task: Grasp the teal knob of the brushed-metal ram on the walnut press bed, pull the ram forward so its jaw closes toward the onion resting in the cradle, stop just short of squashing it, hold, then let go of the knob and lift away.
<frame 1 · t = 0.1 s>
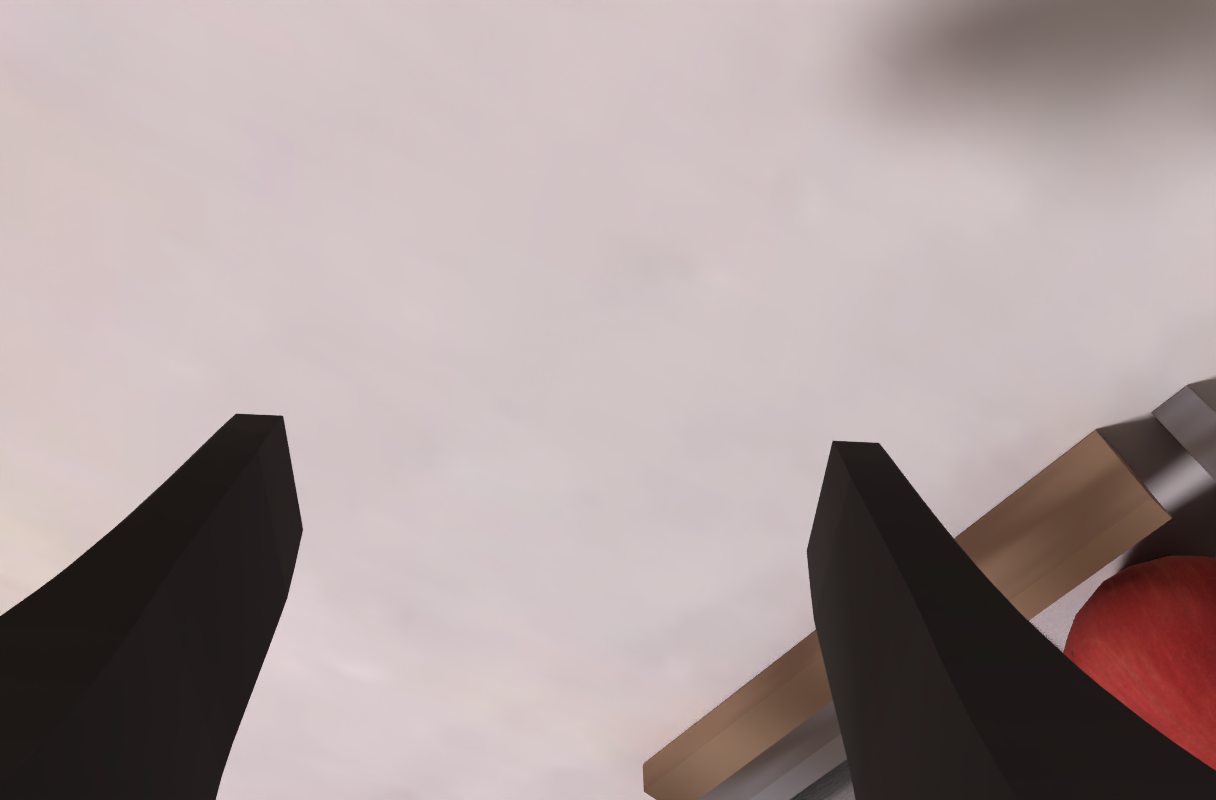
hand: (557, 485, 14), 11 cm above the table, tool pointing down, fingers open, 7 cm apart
press bed: (991, 680, 30), on the table
onion: (1125, 578, 28), resting in press bed
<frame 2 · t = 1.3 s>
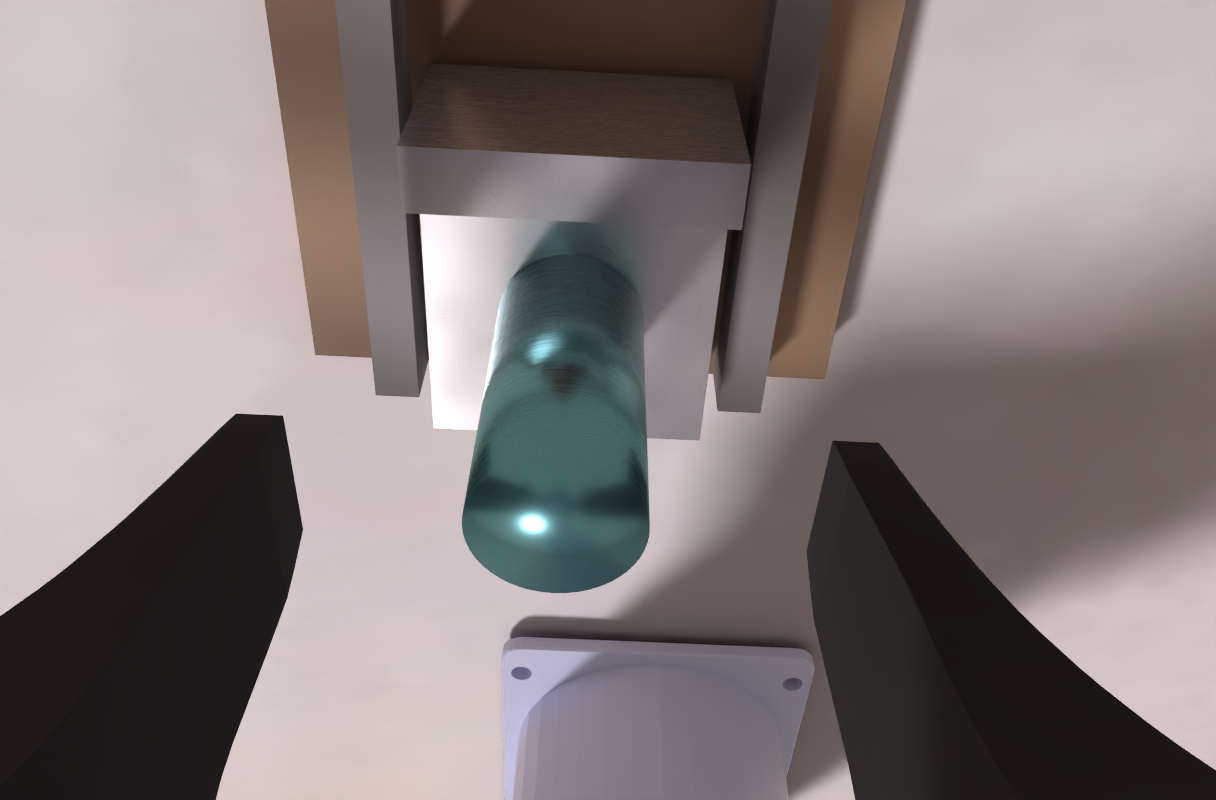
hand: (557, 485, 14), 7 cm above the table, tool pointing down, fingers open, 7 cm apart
ram: (567, 346, 16), point 5 cm above the table, slide at 0.0 cm
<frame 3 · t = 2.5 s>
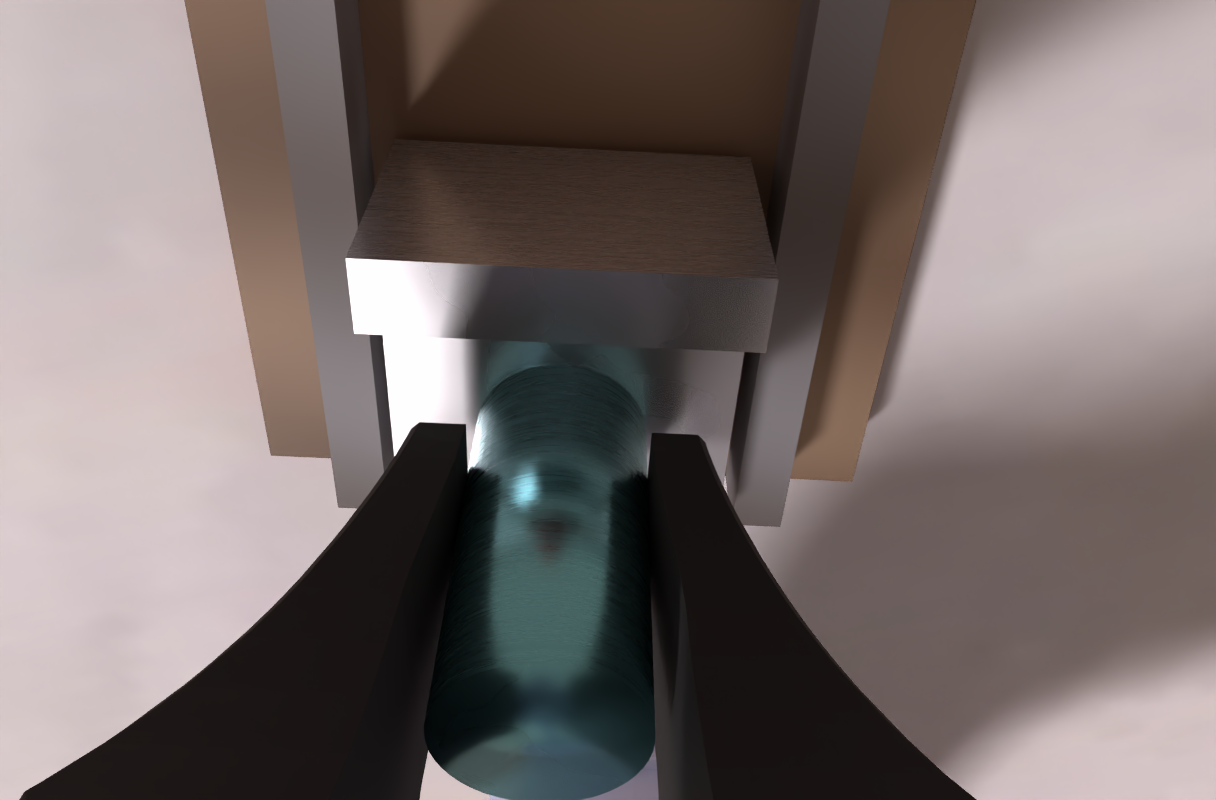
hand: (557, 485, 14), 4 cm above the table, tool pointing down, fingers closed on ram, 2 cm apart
ram: (556, 482, 13), point 5 cm above the table, slide at 0.0 cm, touching gripper
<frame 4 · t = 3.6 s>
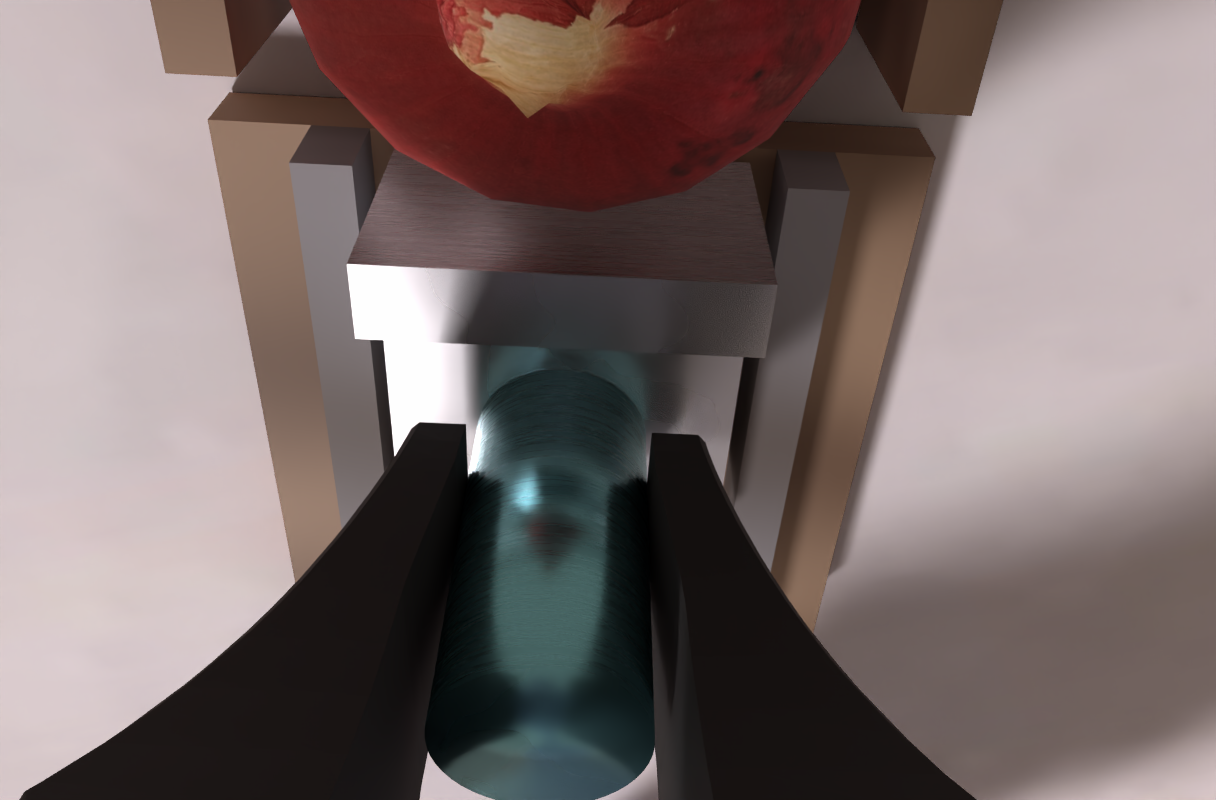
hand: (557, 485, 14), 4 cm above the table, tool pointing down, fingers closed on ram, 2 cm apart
press bed: (574, 174, 16), on the table
ram: (556, 486, 13), point 5 cm above the table, slide at 3.9 cm, touching gripper
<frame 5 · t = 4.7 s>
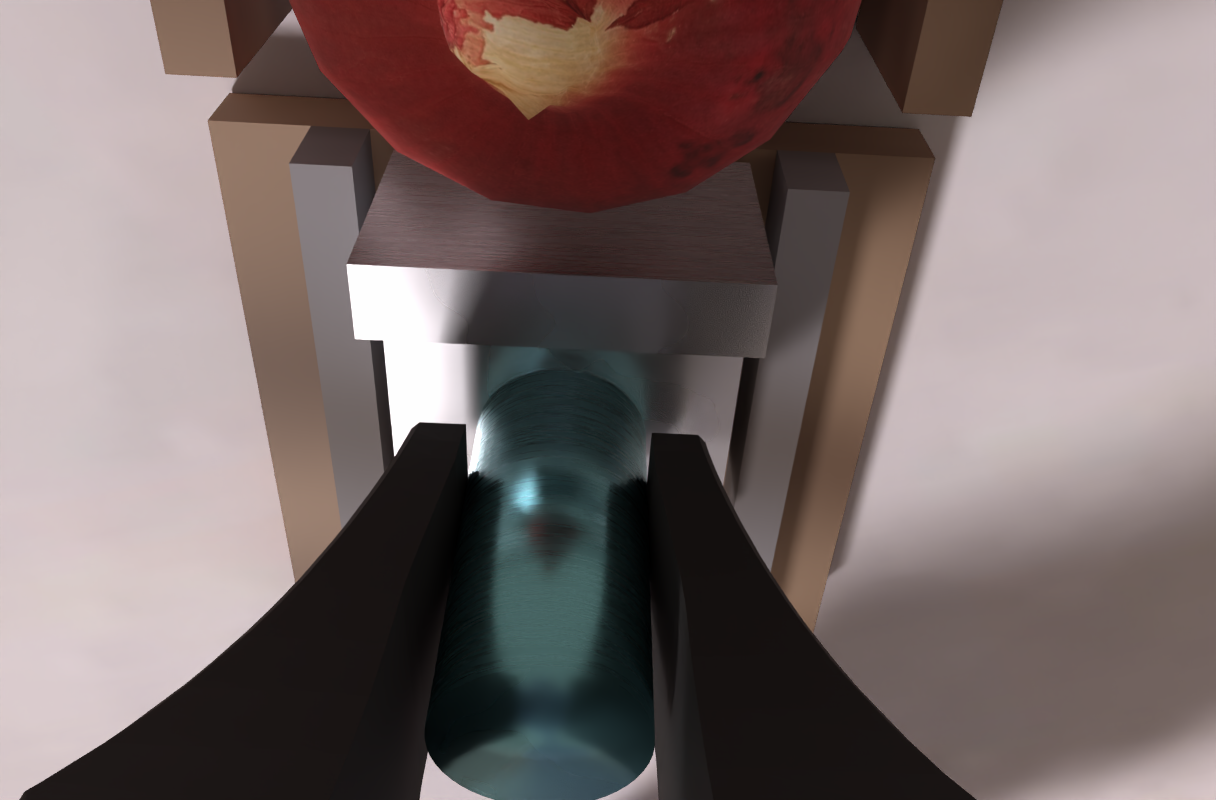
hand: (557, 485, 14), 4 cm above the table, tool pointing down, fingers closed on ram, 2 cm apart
press bed: (574, 174, 16), on the table
ram: (556, 487, 13), point 5 cm above the table, slide at 3.9 cm, touching gripper
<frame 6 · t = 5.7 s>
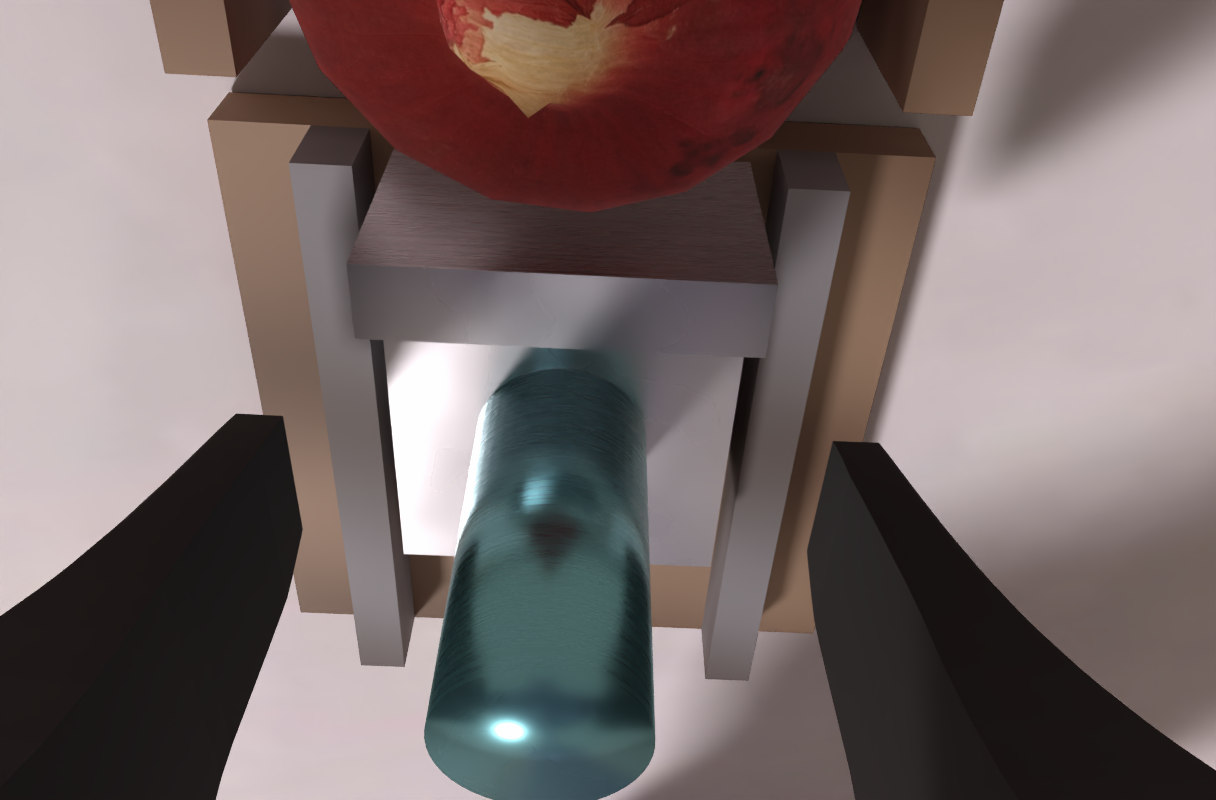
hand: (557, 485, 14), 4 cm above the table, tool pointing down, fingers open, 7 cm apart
press bed: (574, 174, 16), on the table
ram: (556, 487, 13), point 5 cm above the table, slide at 3.9 cm
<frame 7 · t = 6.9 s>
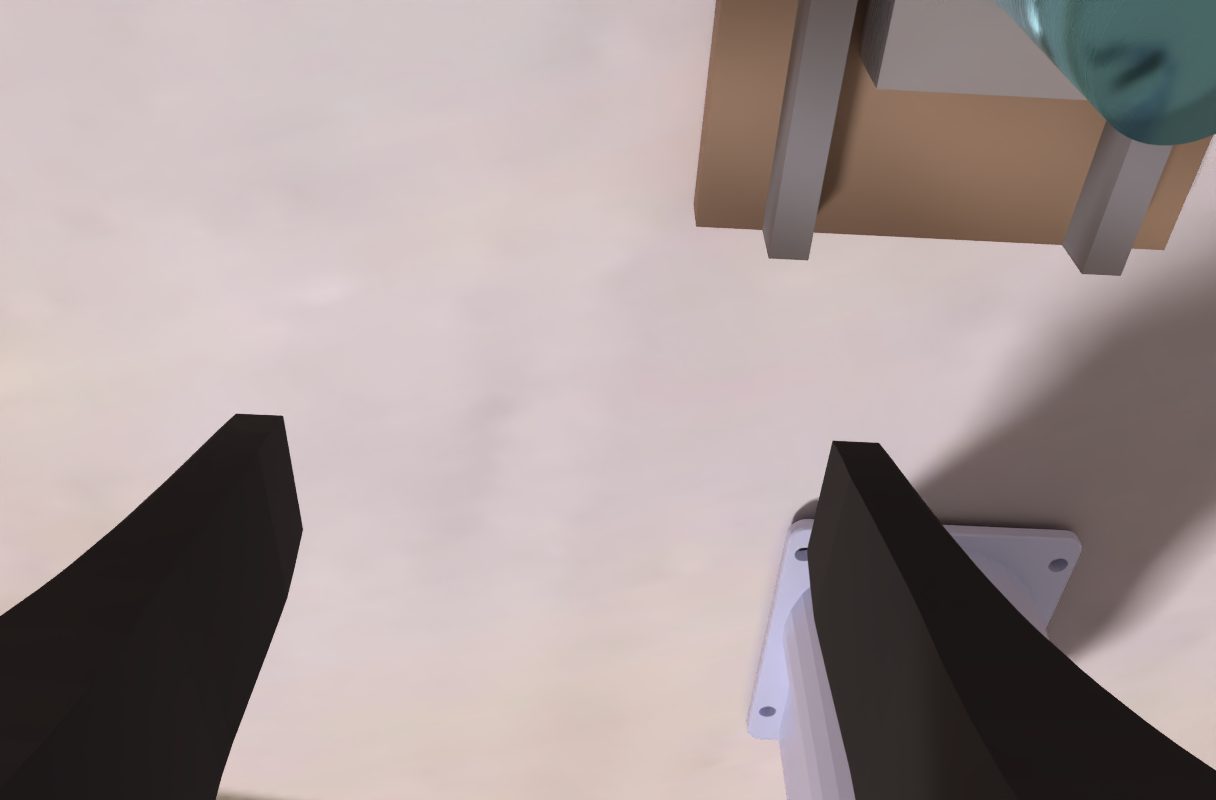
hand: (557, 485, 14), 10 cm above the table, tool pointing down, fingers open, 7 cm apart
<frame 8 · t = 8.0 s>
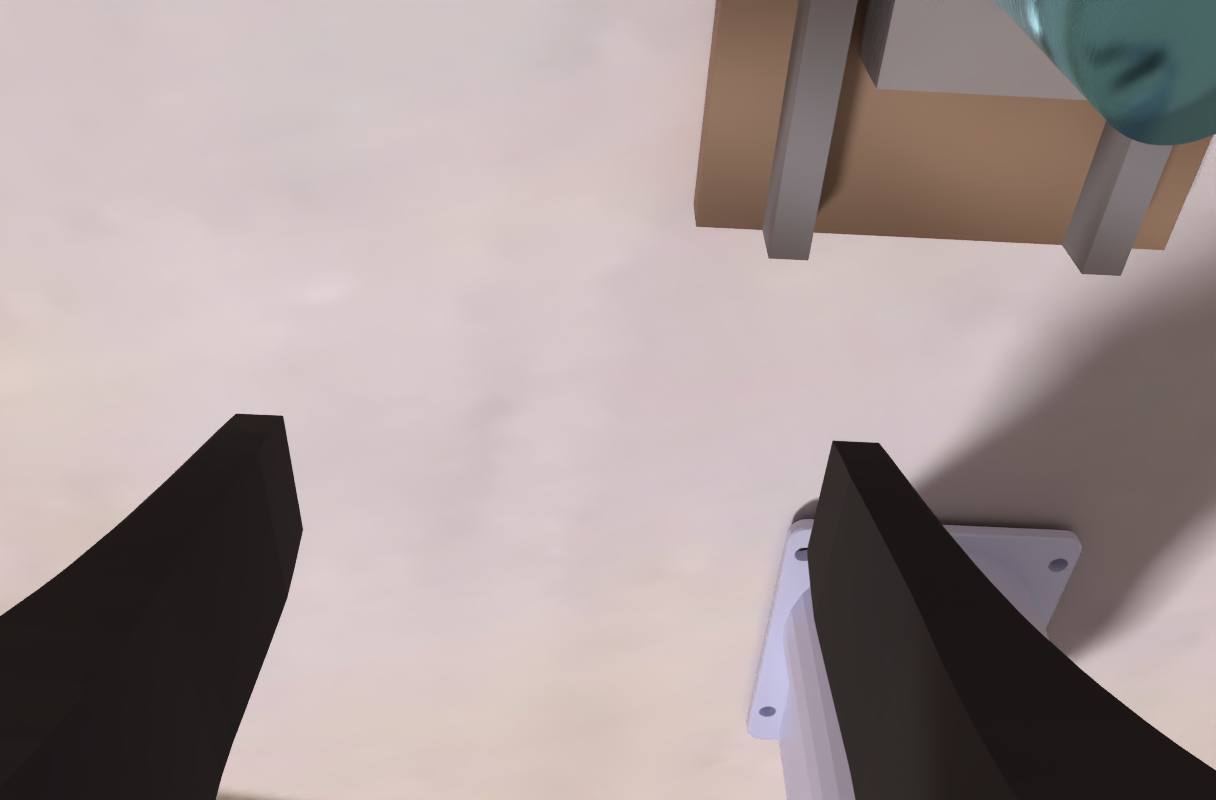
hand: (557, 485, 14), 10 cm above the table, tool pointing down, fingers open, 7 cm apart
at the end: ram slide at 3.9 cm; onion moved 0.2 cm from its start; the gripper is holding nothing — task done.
